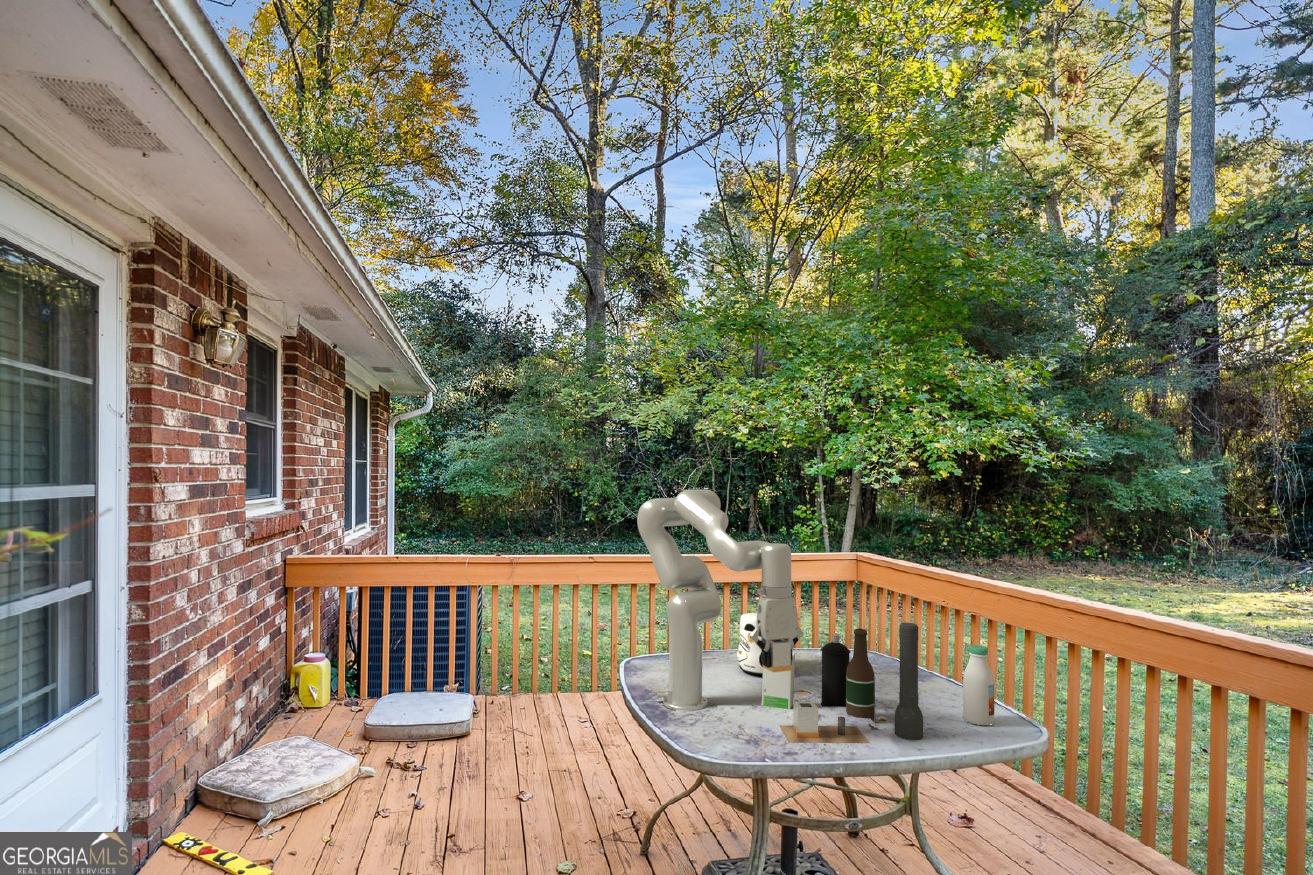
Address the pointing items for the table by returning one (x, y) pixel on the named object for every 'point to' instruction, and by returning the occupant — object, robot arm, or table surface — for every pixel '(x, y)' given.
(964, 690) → the milk bottle
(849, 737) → the pin board
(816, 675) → the table surface
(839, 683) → the aerosol can
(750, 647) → the milk container
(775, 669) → the sleeve
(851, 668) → the beer bottle
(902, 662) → the flashlight
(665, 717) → the table surface
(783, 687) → the skincare box
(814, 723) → the sleeve seated
